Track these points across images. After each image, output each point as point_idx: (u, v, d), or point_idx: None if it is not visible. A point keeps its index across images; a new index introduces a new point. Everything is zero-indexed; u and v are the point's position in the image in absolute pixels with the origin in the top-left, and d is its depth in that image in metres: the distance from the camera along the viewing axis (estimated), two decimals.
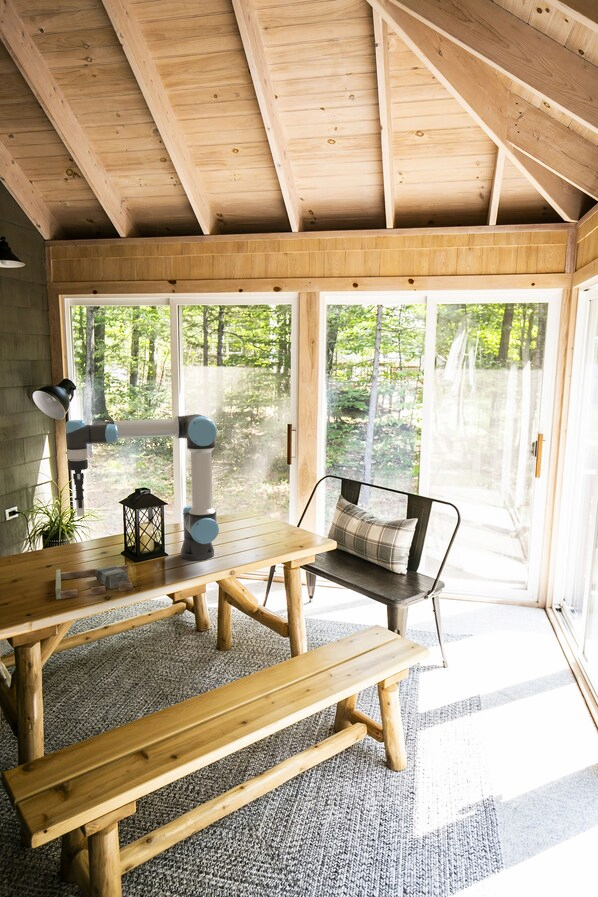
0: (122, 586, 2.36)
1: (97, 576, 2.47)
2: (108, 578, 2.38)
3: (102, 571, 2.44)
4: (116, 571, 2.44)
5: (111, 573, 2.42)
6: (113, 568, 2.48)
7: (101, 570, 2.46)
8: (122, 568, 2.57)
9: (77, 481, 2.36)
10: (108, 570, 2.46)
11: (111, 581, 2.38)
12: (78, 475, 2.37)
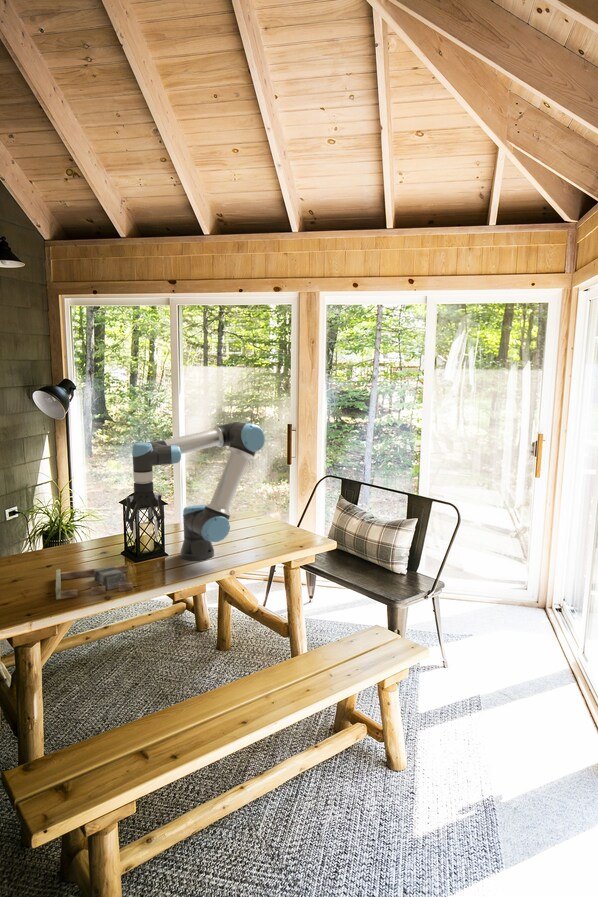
0: (122, 586, 2.36)
1: (95, 577, 2.47)
2: (106, 579, 2.37)
3: (100, 572, 2.43)
4: (114, 572, 2.44)
5: (109, 574, 2.41)
6: (111, 569, 2.47)
7: (99, 571, 2.45)
8: (122, 568, 2.57)
9: (127, 503, 2.44)
10: (106, 571, 2.45)
11: (109, 582, 2.37)
12: (126, 498, 2.43)
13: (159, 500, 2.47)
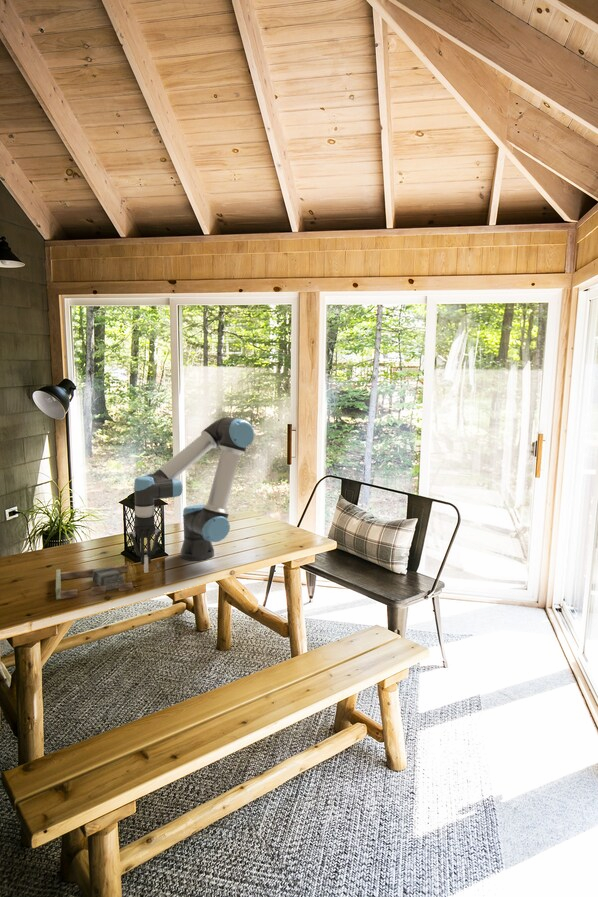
0: (122, 586, 2.36)
1: (93, 577, 2.46)
2: (103, 579, 2.37)
3: (98, 572, 2.43)
4: (112, 572, 2.43)
5: (107, 574, 2.40)
6: (110, 569, 2.47)
7: (97, 571, 2.45)
8: (122, 568, 2.57)
9: None
10: (105, 571, 2.44)
11: (106, 582, 2.36)
12: (129, 535, 2.46)
13: (157, 536, 2.49)
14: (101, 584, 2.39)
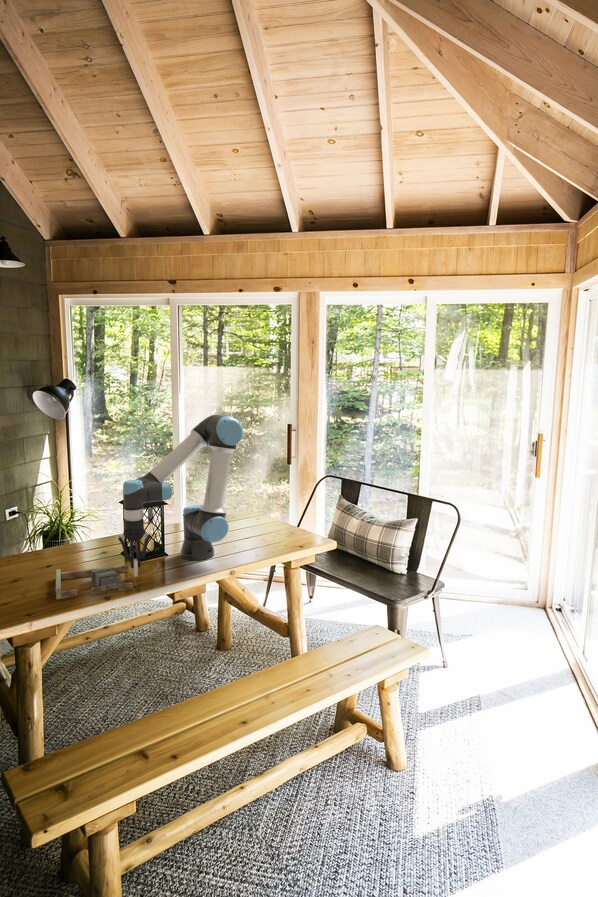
0: (122, 586, 2.36)
1: (92, 577, 2.46)
2: (100, 580, 2.36)
3: (96, 573, 2.42)
4: (110, 573, 2.42)
5: (104, 575, 2.40)
6: (108, 570, 2.46)
7: (96, 571, 2.44)
8: (122, 568, 2.57)
9: None
10: (103, 572, 2.44)
11: (103, 583, 2.36)
12: None
13: (147, 539, 2.47)
14: (99, 585, 2.39)
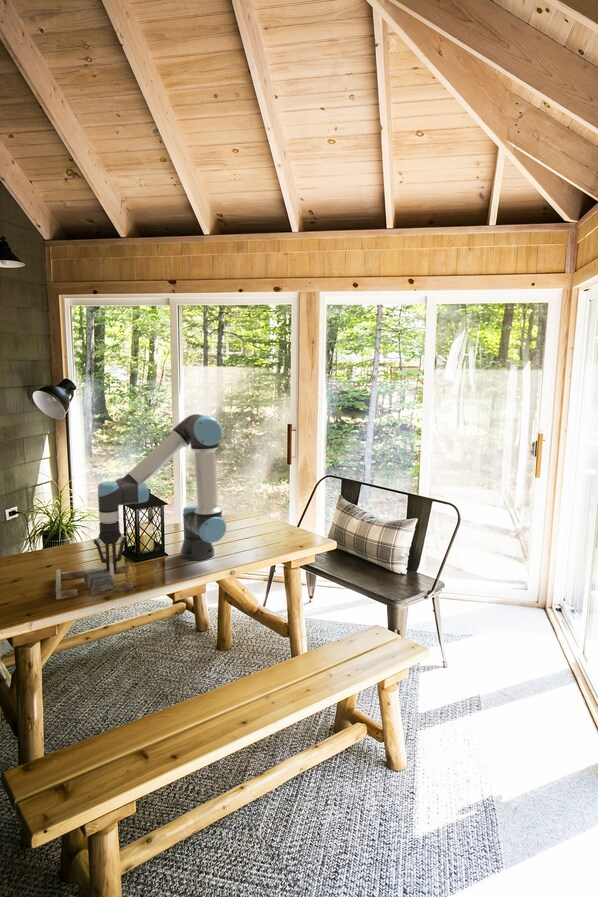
0: (122, 586, 2.36)
1: (84, 579, 2.44)
2: (92, 581, 2.34)
3: (88, 574, 2.41)
4: (102, 574, 2.41)
5: (96, 576, 2.38)
6: (100, 571, 2.45)
7: (88, 573, 2.43)
8: (122, 568, 2.57)
9: None
10: (95, 573, 2.42)
11: (95, 585, 2.34)
12: (93, 541, 2.41)
13: (123, 542, 2.44)
14: (90, 586, 2.37)
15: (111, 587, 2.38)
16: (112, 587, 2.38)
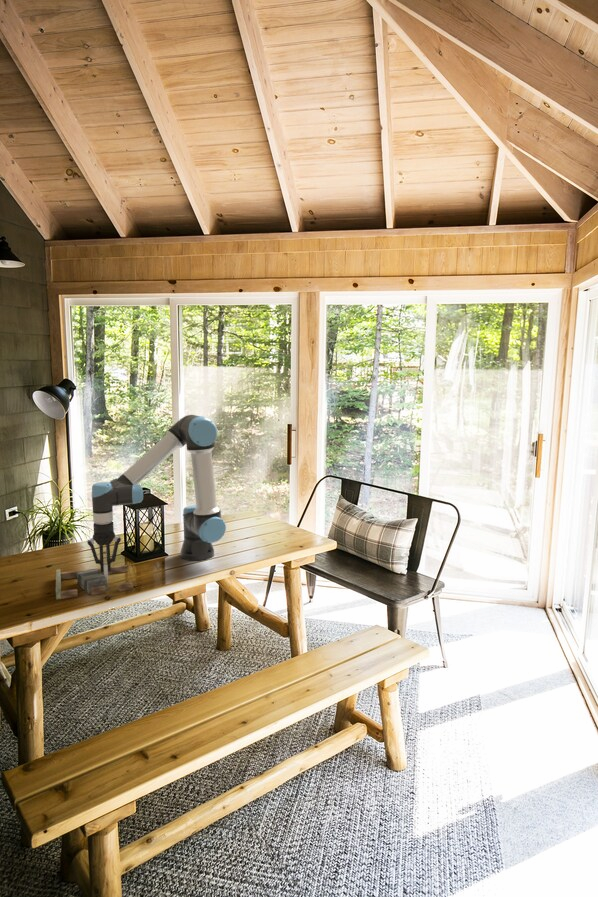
0: (122, 586, 2.36)
1: (78, 580, 2.43)
2: (86, 582, 2.33)
3: (81, 575, 2.40)
4: (96, 575, 2.40)
5: (90, 577, 2.37)
6: (94, 572, 2.44)
7: (81, 574, 2.41)
8: (122, 568, 2.57)
9: None
10: (89, 574, 2.41)
11: (89, 586, 2.33)
12: (87, 542, 2.40)
13: (117, 543, 2.43)
14: (84, 587, 2.36)
15: (105, 588, 2.37)
16: (106, 588, 2.37)
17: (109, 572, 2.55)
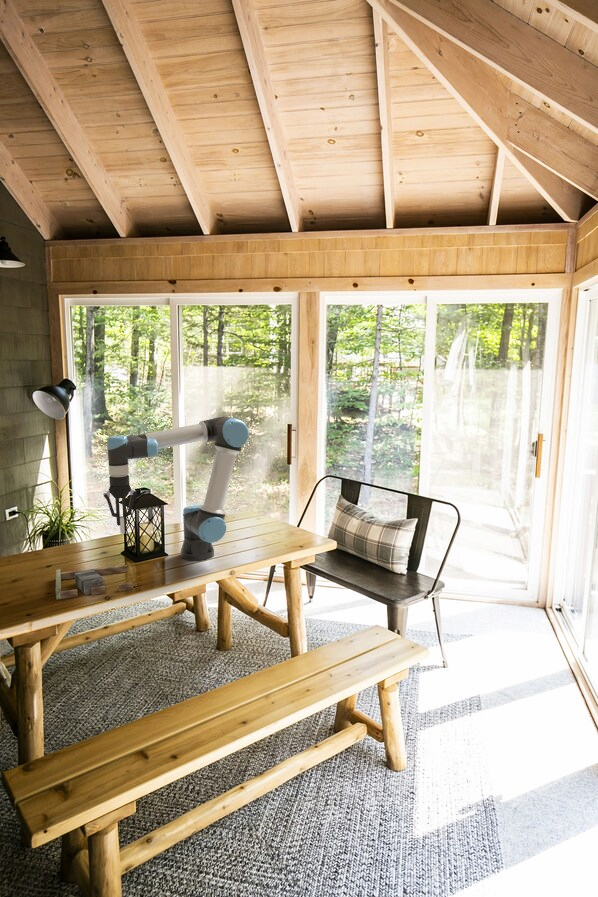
0: (122, 586, 2.36)
1: (75, 580, 2.43)
2: (83, 583, 2.33)
3: (79, 576, 2.39)
4: (93, 576, 2.39)
5: (87, 578, 2.37)
6: (91, 573, 2.43)
7: (79, 574, 2.41)
8: (122, 568, 2.57)
9: None
10: (86, 575, 2.40)
11: (86, 586, 2.32)
12: None
13: (133, 496, 2.44)
14: (81, 588, 2.35)
15: None
16: None
17: (109, 572, 2.55)
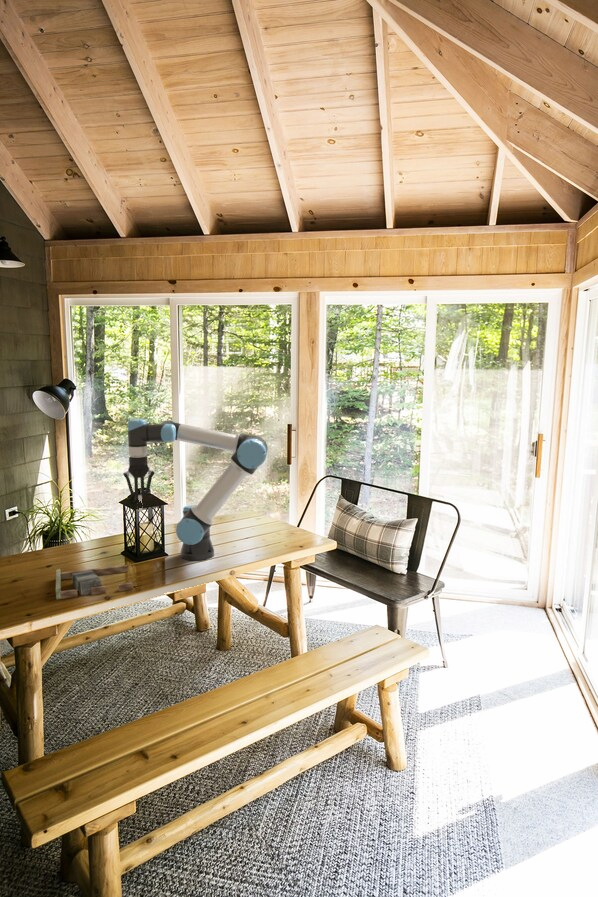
0: (122, 586, 2.36)
1: (73, 581, 2.42)
2: (79, 584, 2.32)
3: (76, 576, 2.39)
4: (90, 577, 2.38)
5: (84, 578, 2.36)
6: (89, 573, 2.42)
7: (76, 575, 2.40)
8: (122, 568, 2.57)
9: (126, 479, 2.59)
10: (83, 575, 2.40)
11: (82, 587, 2.32)
12: None
13: (150, 476, 2.60)
14: (78, 588, 2.35)
15: None
16: None
17: (109, 572, 2.55)
